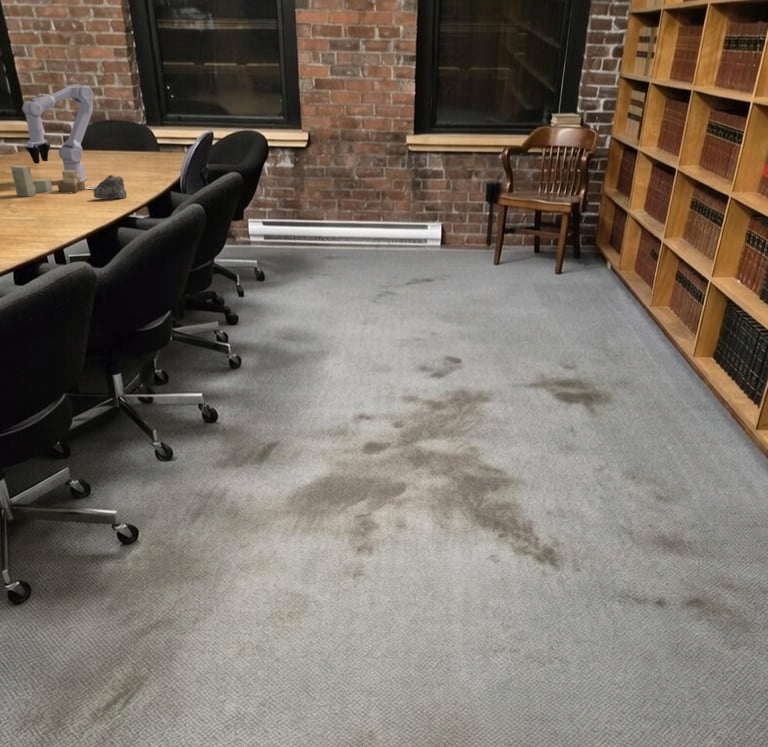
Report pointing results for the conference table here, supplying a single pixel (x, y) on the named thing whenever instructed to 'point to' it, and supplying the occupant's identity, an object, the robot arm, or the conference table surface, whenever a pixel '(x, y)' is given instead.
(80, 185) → the walnut block
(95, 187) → the card
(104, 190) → the mineral rock
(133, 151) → the conference table surface
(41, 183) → the sage cube
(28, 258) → the conference table surface
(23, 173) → the skincare box
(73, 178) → the maple cube
